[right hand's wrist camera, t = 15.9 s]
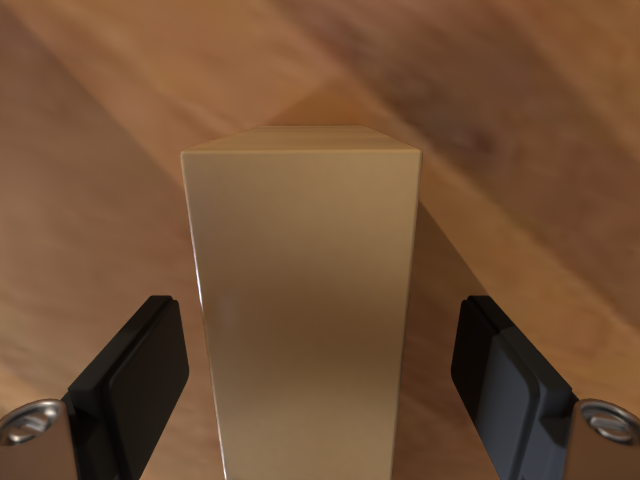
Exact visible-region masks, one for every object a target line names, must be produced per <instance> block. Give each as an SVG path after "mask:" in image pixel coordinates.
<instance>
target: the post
mask: <svg viewBox="0 0 640 480" xmlns="http://www.w3.org/2000/svg"><path fill="white" fill-rule="evenodd" d="M180 158H181V166H182V173H183V180H184V187H185V195H186V202H187V209H188V216H189V223H190V231H191V238H192V245H193V252H194V260H195V267H196V274H197V281H198V288H199V296H200V303H201V310H202V317H203V325H204V332H205V339H206V346H207V353H208V361H209V368H210V375H211V382H212V390H213V397H214V404H215V411H216V418H217V426H218V433H219V440H220V447H221V455H222V462H223V469H224V476H225V480H392V469H393V459H394V449H395V438H396V428H397V418H398V407H399V397H400V387H401V376H402V366H403V356H404V345H405V335H406V325H407V314H408V304H409V294H410V283H411V273H412V263H413V252H414V242H415V232H416V221H417V211H418V201H419V190H420V180H421V170H422V159H423V153H422V150H420V149H417V148H415V147H413V146H410V145H408V144H406V143H403V142H401V141H399V140H396V139H394V138H392V137H390V136H387V135H385V134H383V133H380V132H378V131H376V130H373V129H371V128H369V127H367V126H364V125H354V126H258V127H254V128H251V129H248V130H245V131H242V132H239V133H235V134H232V135H229V136H226V137H223V138H220V139H216V140H213V141H210V142H207V143H204V144H201V145H197V146H194V147H191V148H188V149H185V150H183V151H181V153H180Z"/></svg>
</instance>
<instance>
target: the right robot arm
mask: <svg viewBox="0 0 640 480" xmlns="http://www.w3.org/2000/svg"><path fill="white" fill-rule="evenodd" d="M188 376H189V365H188V359H187V353H186V346H185V340H184V334H183V328H182V321H181V315H180V309H179V303H178V301H177V300H173V298H172V297H171V296H150V297H149V298H148V299H147V301H146V302H145V303H144V304H143V305H142V306H141V307H140V308H139V309H138V311H137V312H136V313H135V314H134V315H133V316H132V317H131V318H130V320H129V321H128V322H127V323H126V324H125V325H124V326H123V327H122V328H121V330H120V331H119V332H118V333H117V334H116V335H115V336H114V337H113V339H112V340H111V341H110V342H109V343H108V344H107V345H106V346H105V347H104V349H103V350H102V351H101V352H100V353H99V354H98V355H97V356H96V358H95V359H94V360H93V361H92V362H91V363H90V364H89V365H88V366H87V368H86V369H85V370H84V371H83V372H82V373H81V374H80V375H79V377H78V378H77V379H76V380H75V381H74V382H73V383H72V384H71V385H70V387H69V388H68V392H67V393H66V394H65V395H64V397H63V398H62V399H61V400H58V399H42V400H37V401H34V402H31V403H27V404H25V405H23V406H21V407H19V408H16V409H15V410H13V411H11V412H10V413H8V414H7V415H5V416H4V417H2V418H1V419H0V480H139V479H140V477H141V475H142V473H143V471H144V469H145V467H146V465H147V463H148V461H149V459H150V457H151V455H152V453H153V451H154V448H155V446H156V444H157V442H158V440H159V438H160V436H161V434H162V432H163V430H164V428H165V426H166V424H167V422H168V420H169V417H170V415H171V413H172V411H173V409H174V407H175V405H176V403H177V401H178V399H179V397H180V395H181V393H182V391H183V389H184V387H185V384H186V382H187V380H188ZM451 377H452V380H453V382H454V384H455V387H456V389H457V391H458V393H459V395H460V397H461V399H462V401H463V403H464V405H465V407H466V409H467V411H468V413H469V415H470V418H471V420H472V422H473V424H474V426H475V428H476V430H477V432H478V434H479V436H480V438H481V440H482V442H483V444H484V446H485V448H486V451H487V453H488V455H489V457H490V459H491V461H492V463H493V465H494V467H495V469H496V471H497V473H498V475H499V477H500V479H501V480H640V419H639V418H638V417H636V416H635V415H633V414H632V413H630V412H629V411H627V410H625V409H624V408H621V407H619V406H617V405H615V404H613V403H609V402H606V401H603V400H598V399H582V400H579V399H578V398H577V397H576V395H575V394H574V393H573V392H572V388H571V387H570V385H569V384H568V383H567V382H566V381H565V380H564V379H563V378H562V377H561V375H560V374H559V373H558V372H557V371H556V370H555V369H554V368H553V366H552V365H551V364H550V363H549V362H548V361H547V360H546V359H545V358H544V356H543V355H542V354H541V353H540V352H539V351H538V350H537V349H536V347H535V346H534V345H533V344H532V343H531V342H530V341H529V340H528V339H527V337H526V336H525V335H524V334H523V333H522V332H521V331H520V330H519V328H518V327H517V326H516V325H515V324H514V323H513V322H512V321H511V320H510V318H509V317H508V316H507V315H506V314H505V313H504V312H503V311H502V309H501V308H500V307H499V306H498V305H497V304H496V303H495V302H494V301H493V299H492V298H491V297H490V296H469V297H468V298H467V300H463V301H462V303H461V309H460V315H459V321H458V328H457V334H456V340H455V346H454V353H453V359H452V365H451Z"/></svg>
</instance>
